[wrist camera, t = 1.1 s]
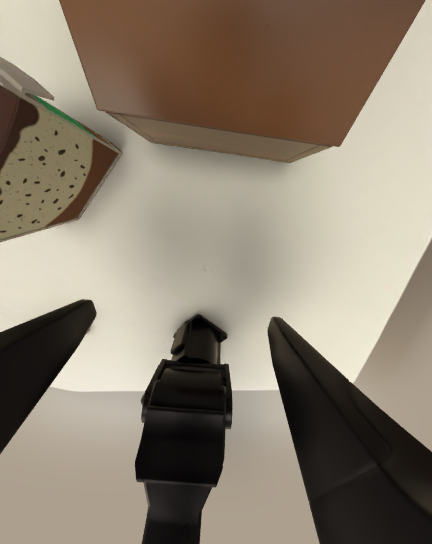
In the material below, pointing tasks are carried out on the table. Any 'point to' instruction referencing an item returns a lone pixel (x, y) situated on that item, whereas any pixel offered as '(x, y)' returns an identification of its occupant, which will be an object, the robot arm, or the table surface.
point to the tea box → (219, 139)
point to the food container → (44, 159)
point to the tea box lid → (239, 60)
